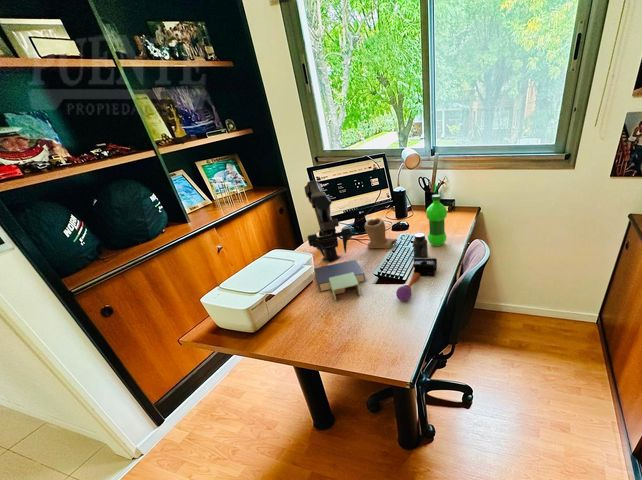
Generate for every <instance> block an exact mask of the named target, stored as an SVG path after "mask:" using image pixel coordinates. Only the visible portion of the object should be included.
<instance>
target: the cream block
mask: <svg viewBox="0 0 642 480" xmlns="http://www.w3.org/2000/svg"><path fill="white" fill-rule="evenodd" d="M343 293H346V290H345V288H343V289H339V290H335V295H338V294H343Z"/></svg>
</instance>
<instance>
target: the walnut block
mask: <svg viewBox="0 0 642 480" xmlns="http://www.w3.org/2000/svg"><path fill="white" fill-rule="evenodd" d="M355 290H356V286H351V287H347V288H345V293H347V292H351V291H355Z"/></svg>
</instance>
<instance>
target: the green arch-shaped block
mask: <svg viewBox="0 0 642 480" xmlns="http://www.w3.org/2000/svg"><path fill="white" fill-rule="evenodd" d="M329 281H330V285H331V289H330V290H331V292H332V295H333V298H334V301H336V302H337V301H338V300H337V296H336V295H337V294H335V290H339V289H343V288H347V287H351V286H355V290H356V291H357V293H358V295H359V296H361V289H360V283H358V281H357V279H356V277H355V275H354V273H353V272H352V273H348V274H343V275H339V276H335V277H330V278H329Z"/></svg>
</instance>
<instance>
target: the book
mask: <svg viewBox="0 0 642 480" xmlns="http://www.w3.org/2000/svg"><path fill="white" fill-rule="evenodd" d="M313 270H314V273H315V277H316V278H315V279H316V281H317V285H318V288H319V291H320V292H321V293H323V292H327V291H329V290H332V289H331V285H330V281H329V278H330V277H335V276H339V275H343V274H348V273H352V272H353V273H354V275H355V277H356V279H357V281H358V284H360V283H363V282H366V278H365V272H364V271H363V269H362V267H361V266H360V264H359V263H358V260H357V259H349V260H346V261H342V262H338V263H333V264H328V265H324V266H319V267H314V268H313Z"/></svg>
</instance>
